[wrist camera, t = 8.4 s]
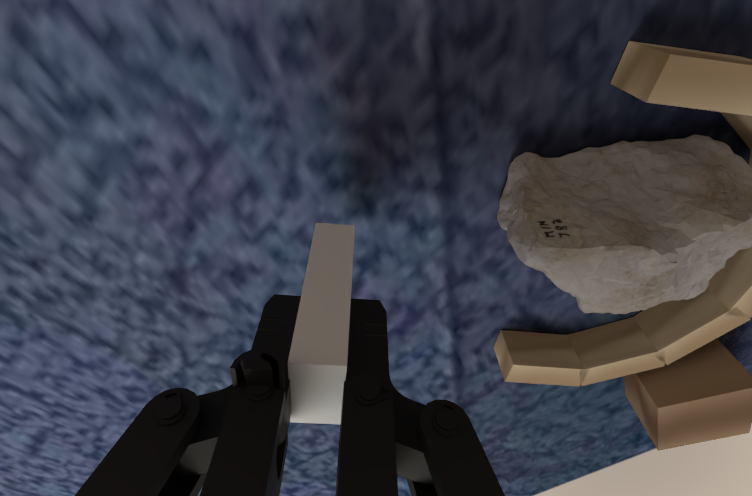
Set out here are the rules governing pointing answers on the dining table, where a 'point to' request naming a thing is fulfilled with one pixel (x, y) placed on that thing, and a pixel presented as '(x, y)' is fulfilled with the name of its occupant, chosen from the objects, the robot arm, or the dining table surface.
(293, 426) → the dining table surface
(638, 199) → the stone
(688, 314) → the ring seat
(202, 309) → the dining table surface
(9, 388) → the dining table surface
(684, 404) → the walnut block
